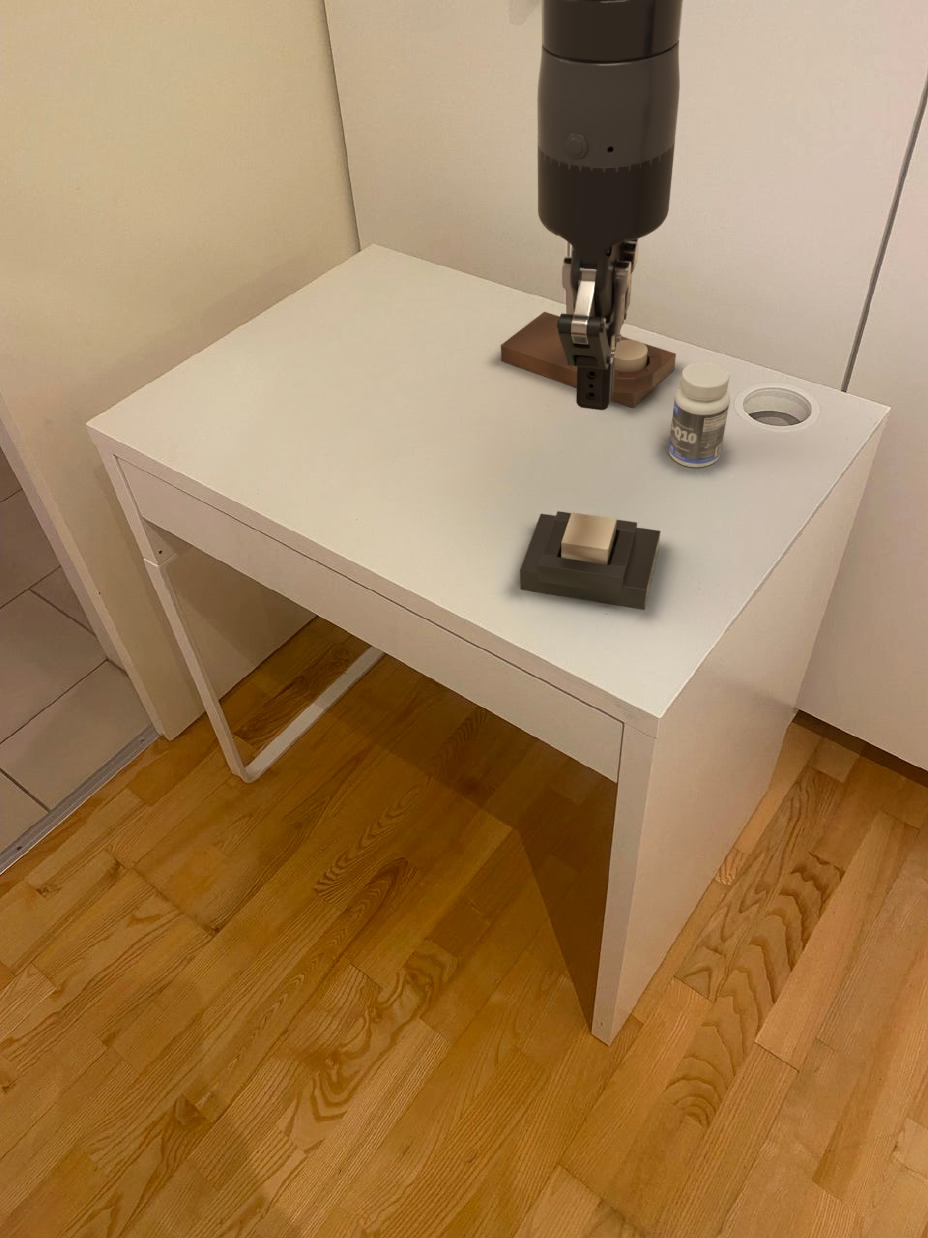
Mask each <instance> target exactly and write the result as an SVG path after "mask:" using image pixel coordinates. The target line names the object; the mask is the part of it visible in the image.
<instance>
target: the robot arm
mask: <svg viewBox="0 0 928 1238" xmlns="http://www.w3.org/2000/svg"><path fill="white" fill-rule="evenodd" d="M683 3H684V0H541V52H540V53H541V56H540V63H539V64H540V65H539V73H538V81H537V99H536V101H537V105H536V107H537V109H536V110H537V111H536V113H537V115H536V117H537V214H538V218H539V220H540V222H541V224H542V226H543V227H544V228H545V229H546V230H547V231H548V232H550V233H551V234H552V235H555V236H556V237H557V236H558V237H560V238H562V239H563V240H565V241H566V242H568V243H569V244H570V246H571V250H570V251H571V254H570V256H564V258H563V261H562V268H561V275H562V276H561V285H562V287H563V289H564V290H565V313H560V315H559V316H560V318H559V320H558V321H557V329H558V334H559V337H560V340H561V344H562V347H563V350H564V353H565V356H566V360H567V363H568V366H575V367H577V388H576V394H575V395H576V396H575V397H576V400H575V402H576V405H577V406H578V407H580V408H582V409H588V410H597V411H605V410H607V409H608V408H609V406H610V402H611V401H612V400H611V397H612V394H613V388H614V371H615V355H616V349H615V348H617V347H618V344H619V342H621V336H622V334H621V329H622V326H624V323H625V321H626V320H627V317H628V315H627V314H628V309H629V307H630V305H631V295H632V284H633V283H632V281H633V273H634V271H635V268H636V265H637V263H638V258H639V257H638V256H639V239H641V238H643V237H646V236H648V235H650V234H651V233H654V232H655V231H656V230H657V229H659V228H660V227H661V226H662V225H663V224H664V222H665V221H666V220H667V217H668V214H669V211H670V201H671V188H672V180H673V179H672V178H673V169H674V168H673V167H674V156H675V147H676V146H675V145H676V135H677V125H678V124H677V123H678V113H679V103H680V89H681V88H680V87H681V83H680V82H681V81H680V80H681V77H680V76H681V74H680V37H681V27H682V15H683V5H684V4H683Z"/></svg>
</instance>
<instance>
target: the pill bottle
mask: <svg viewBox="0 0 928 1238" xmlns="http://www.w3.org/2000/svg"><path fill="white" fill-rule="evenodd" d="M729 382H730V373H729V371H728V369H726V368H725V367H724V366H723V365H721V364H718V363H716V362H713V361H712V362H711V361H696V362H691V363H689V364H688V365H687V366H685V367H684V368H683V369H682V372H681V377H680V383H679V385H680V386H679V387H678V388H677V390H676V392H675V395H674V399H673V400H674V401H673V410H672V416H671V417H672V419H671V424H670V426H671V427H670V433H669V441H668V442H669V443H668V454H669V455H670V457H671V458H672V459H673V460H674V462H676V463H678V464H680V465H682V466H684V467H689V468H703V467H707V466H710V465H712V464H714V463H716V462H717V461H718V460H719V458H720V456H721V454H722V449H723V443H724V438H725V431H726V425H727V418H728V414H729V410H730V409H729V408H730V402H731V397H730V393H729V391H728V389H729Z"/></svg>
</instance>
